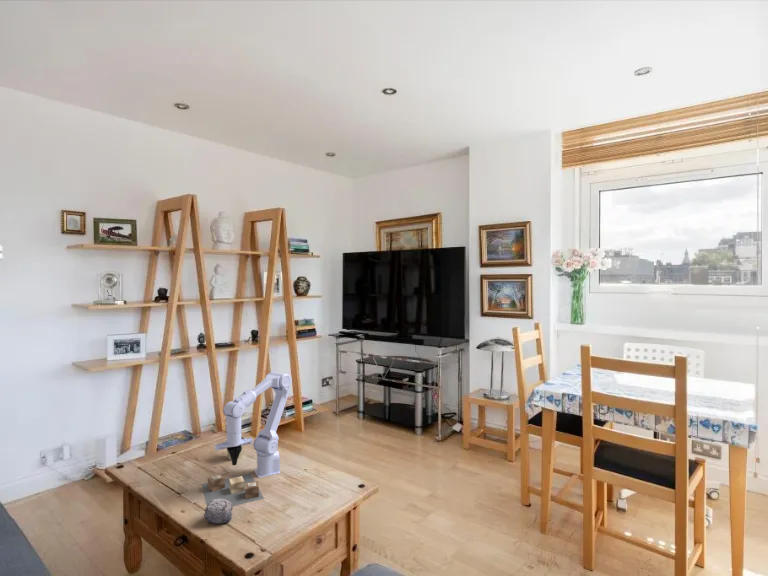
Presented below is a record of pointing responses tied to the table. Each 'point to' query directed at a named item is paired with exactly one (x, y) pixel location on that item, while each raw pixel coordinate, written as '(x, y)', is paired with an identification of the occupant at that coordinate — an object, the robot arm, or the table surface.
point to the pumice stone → (218, 511)
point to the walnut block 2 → (251, 490)
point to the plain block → (236, 484)
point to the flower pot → (240, 452)
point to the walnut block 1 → (216, 482)
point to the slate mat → (226, 494)
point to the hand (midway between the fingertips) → (234, 464)
